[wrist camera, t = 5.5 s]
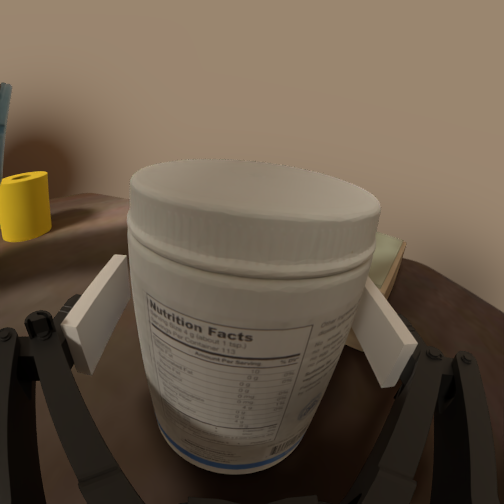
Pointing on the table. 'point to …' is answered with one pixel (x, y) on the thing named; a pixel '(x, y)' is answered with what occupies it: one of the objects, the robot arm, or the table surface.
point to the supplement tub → (244, 300)
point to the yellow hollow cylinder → (24, 206)
